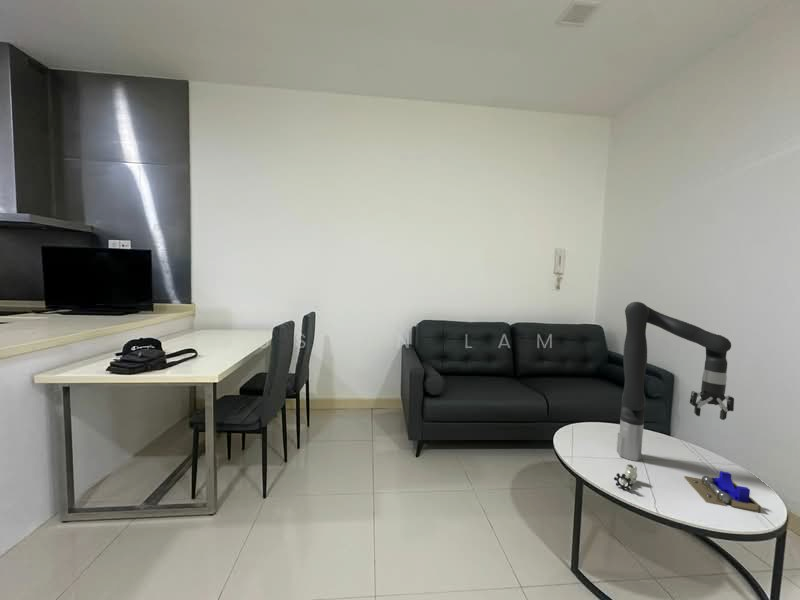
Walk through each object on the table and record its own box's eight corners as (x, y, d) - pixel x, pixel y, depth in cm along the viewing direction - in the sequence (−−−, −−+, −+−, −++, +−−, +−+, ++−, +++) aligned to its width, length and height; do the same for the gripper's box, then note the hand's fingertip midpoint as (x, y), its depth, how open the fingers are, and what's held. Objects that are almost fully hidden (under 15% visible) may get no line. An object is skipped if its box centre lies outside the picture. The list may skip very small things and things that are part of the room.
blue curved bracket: (714, 484, 140) (715, 470, 139) (727, 486, 138) (728, 472, 138) (733, 502, 128) (735, 487, 128) (748, 504, 127) (749, 489, 126)
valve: (623, 476, 145) (613, 486, 137) (624, 461, 144) (614, 470, 137) (641, 483, 140) (631, 494, 132) (642, 468, 139) (633, 478, 132)
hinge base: (705, 501, 129) (706, 493, 128) (684, 477, 145) (684, 470, 145) (760, 512, 123) (761, 503, 123) (731, 486, 140) (732, 478, 139)
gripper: (698, 381, 142) (693, 417, 144) (740, 386, 138) (735, 424, 139) (689, 376, 149) (685, 411, 151) (729, 381, 145) (725, 417, 146)
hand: (709, 417), depth 145 cm, fingers open, 8 cm apart
